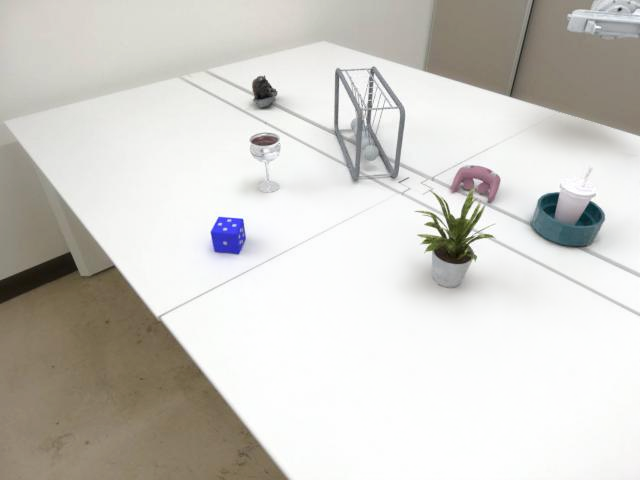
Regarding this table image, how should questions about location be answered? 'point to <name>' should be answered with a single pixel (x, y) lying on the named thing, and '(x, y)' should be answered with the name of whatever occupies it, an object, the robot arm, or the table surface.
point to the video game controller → (480, 173)
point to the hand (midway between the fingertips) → (620, 33)
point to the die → (228, 235)
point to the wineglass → (266, 155)
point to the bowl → (563, 232)
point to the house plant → (453, 243)
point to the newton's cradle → (358, 124)
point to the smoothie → (574, 198)
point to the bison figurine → (263, 92)
